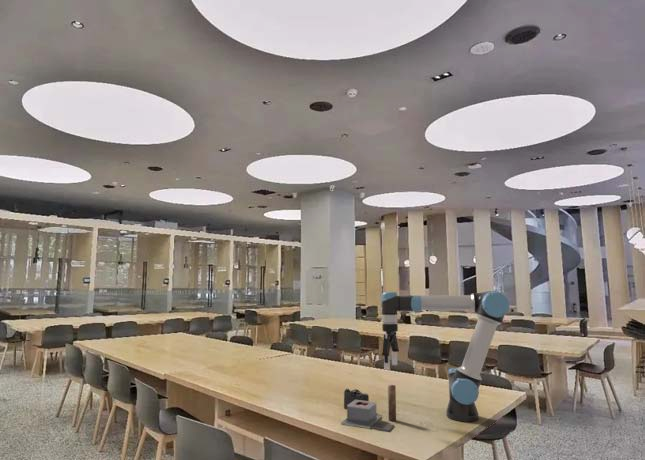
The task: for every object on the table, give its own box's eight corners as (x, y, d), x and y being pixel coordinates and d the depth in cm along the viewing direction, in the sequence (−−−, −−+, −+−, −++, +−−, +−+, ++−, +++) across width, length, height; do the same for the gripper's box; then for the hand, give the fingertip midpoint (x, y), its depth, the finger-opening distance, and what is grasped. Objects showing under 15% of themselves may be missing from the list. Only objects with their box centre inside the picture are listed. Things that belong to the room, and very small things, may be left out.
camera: (375, 409, 213) (375, 389, 214) (365, 414, 204) (365, 393, 205) (353, 404, 221) (352, 385, 222) (342, 408, 212) (341, 389, 214)
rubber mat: (394, 426, 186) (394, 424, 186) (389, 431, 178) (389, 430, 178) (377, 423, 189) (377, 422, 189) (372, 429, 182) (372, 427, 182)
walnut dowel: (397, 419, 195) (396, 385, 197) (395, 421, 192) (394, 386, 194) (389, 418, 196) (389, 384, 199) (387, 420, 193) (387, 386, 195)
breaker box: (381, 417, 198) (381, 400, 199) (370, 428, 182) (369, 410, 183) (354, 413, 204) (354, 397, 205) (341, 424, 188) (341, 406, 189)
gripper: (389, 321, 214) (390, 362, 211) (374, 324, 191) (375, 371, 188) (403, 321, 210) (404, 363, 207) (390, 325, 188) (391, 372, 185)
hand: (391, 367), depth 198 cm, fingers open, 13 cm apart
